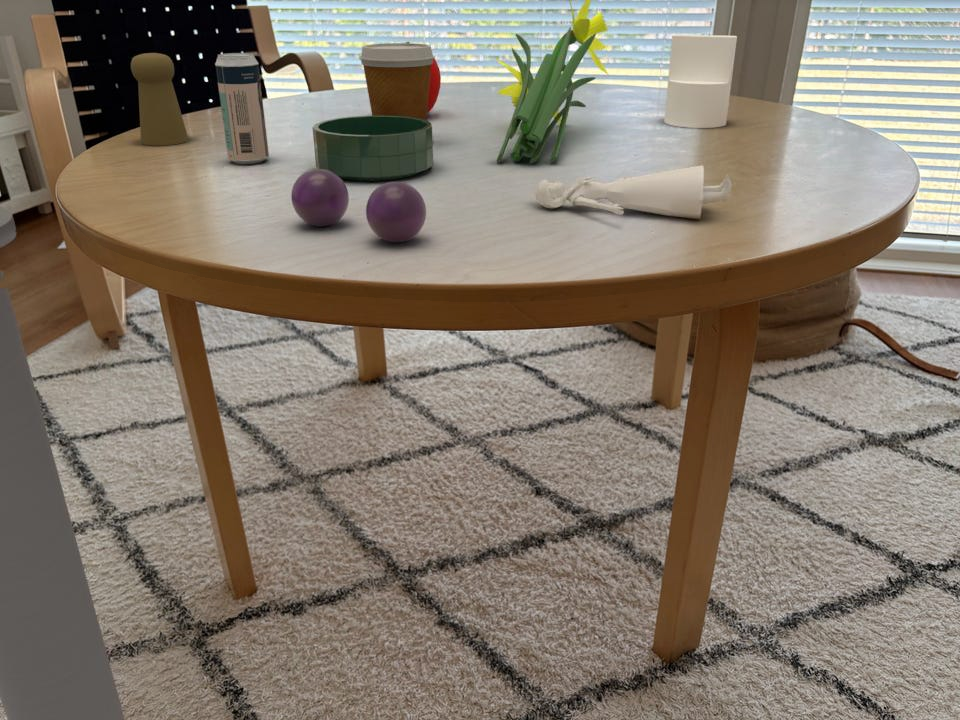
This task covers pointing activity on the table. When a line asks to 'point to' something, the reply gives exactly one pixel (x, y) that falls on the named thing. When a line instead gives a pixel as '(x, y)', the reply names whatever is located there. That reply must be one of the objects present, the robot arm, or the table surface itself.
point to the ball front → (396, 211)
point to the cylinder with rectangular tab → (699, 80)
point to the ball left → (320, 197)
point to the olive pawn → (158, 100)
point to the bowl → (373, 146)
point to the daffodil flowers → (549, 87)
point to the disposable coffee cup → (398, 78)
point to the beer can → (242, 107)
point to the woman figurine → (641, 193)
